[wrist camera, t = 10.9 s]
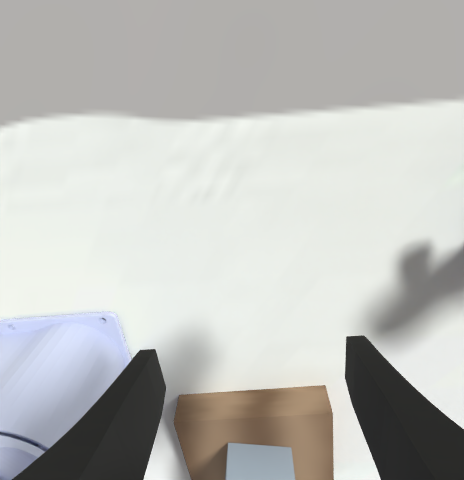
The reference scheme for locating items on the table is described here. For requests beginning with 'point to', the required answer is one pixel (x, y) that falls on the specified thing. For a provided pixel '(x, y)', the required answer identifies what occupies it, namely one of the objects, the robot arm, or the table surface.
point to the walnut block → (257, 428)
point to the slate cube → (259, 462)
